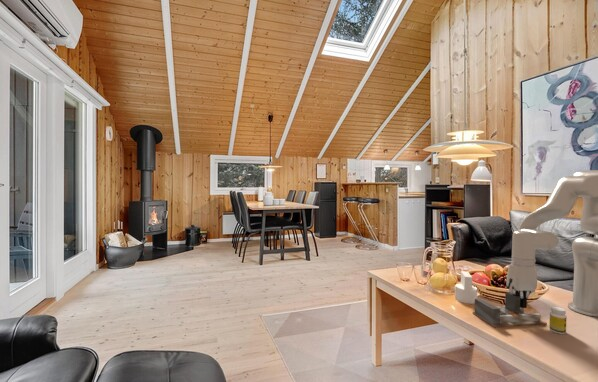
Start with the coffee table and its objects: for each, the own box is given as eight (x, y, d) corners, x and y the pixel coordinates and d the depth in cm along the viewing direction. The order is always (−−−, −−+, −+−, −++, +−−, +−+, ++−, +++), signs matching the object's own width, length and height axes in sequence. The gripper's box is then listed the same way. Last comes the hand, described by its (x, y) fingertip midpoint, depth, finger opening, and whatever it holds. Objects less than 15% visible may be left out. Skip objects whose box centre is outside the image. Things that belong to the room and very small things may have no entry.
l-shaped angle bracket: (508, 313, 125) (509, 291, 124) (527, 323, 116) (528, 300, 115) (489, 314, 124) (490, 292, 123) (507, 324, 115) (508, 301, 114)
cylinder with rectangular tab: (479, 304, 135) (480, 278, 135) (456, 302, 138) (457, 276, 138) (474, 297, 144) (475, 272, 143) (453, 294, 147) (453, 270, 146)
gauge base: (520, 311, 129) (520, 295, 129) (546, 324, 117) (547, 307, 117) (472, 313, 126) (473, 297, 126) (494, 327, 114) (495, 310, 114)
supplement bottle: (567, 335, 108) (568, 312, 108) (550, 332, 111) (551, 309, 111) (564, 330, 113) (565, 307, 112) (548, 326, 115) (549, 305, 115)
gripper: (531, 258, 126) (529, 302, 127) (498, 259, 124) (497, 303, 125) (548, 263, 119) (546, 310, 119) (513, 264, 117) (512, 311, 117)
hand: (521, 306), depth 122 cm, fingers closed
